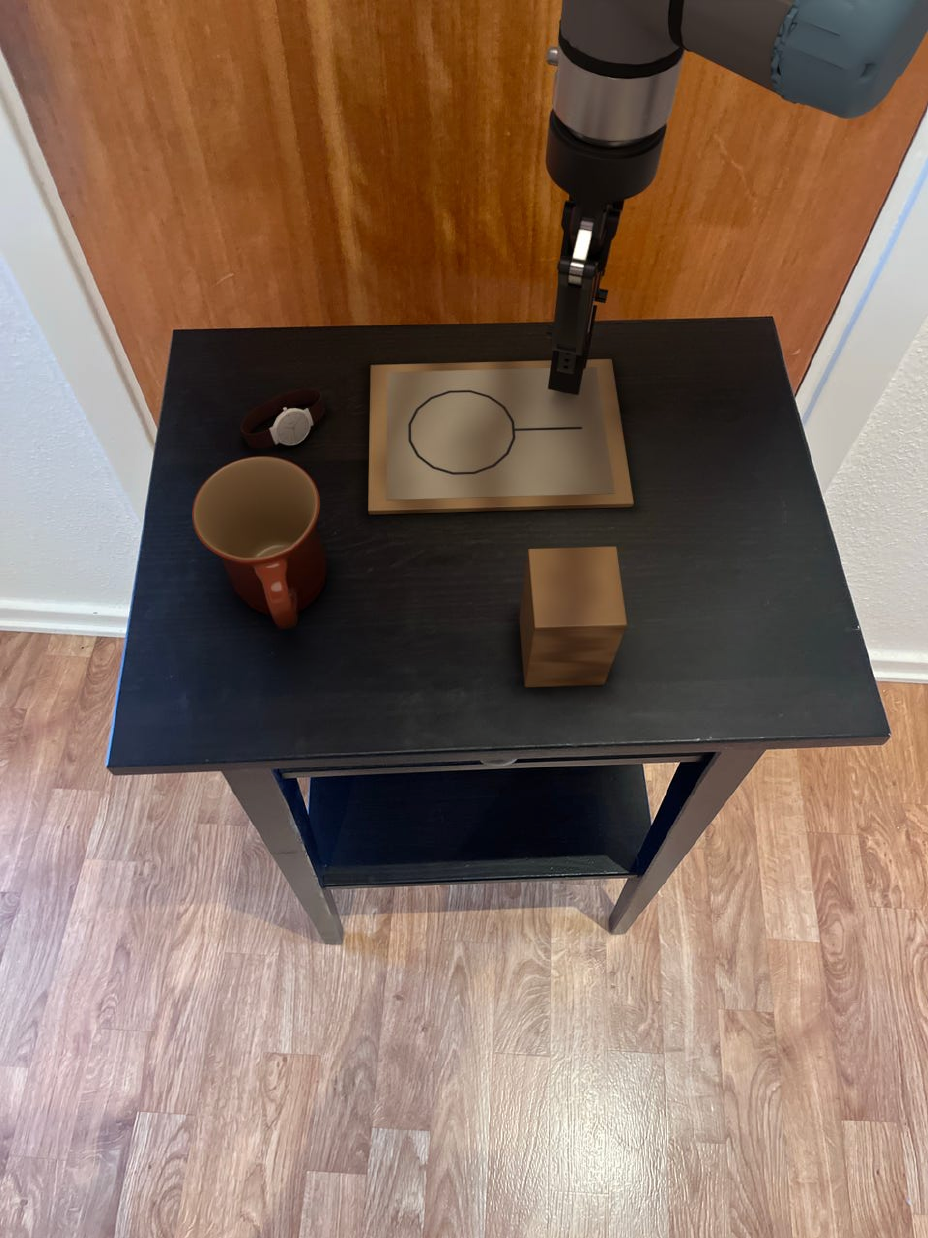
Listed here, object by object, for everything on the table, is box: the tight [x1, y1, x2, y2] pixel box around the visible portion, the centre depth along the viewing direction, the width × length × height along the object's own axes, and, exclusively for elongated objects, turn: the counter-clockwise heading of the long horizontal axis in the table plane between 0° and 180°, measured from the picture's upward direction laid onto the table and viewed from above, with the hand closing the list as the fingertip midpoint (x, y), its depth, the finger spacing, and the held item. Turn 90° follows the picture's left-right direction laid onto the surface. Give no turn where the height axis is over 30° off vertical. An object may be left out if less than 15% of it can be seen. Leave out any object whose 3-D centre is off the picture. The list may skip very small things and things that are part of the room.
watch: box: [239, 387, 326, 449], centre depth 74 cm, size 8×5×4 cm, turn 126°
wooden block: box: [518, 546, 628, 688], centre depth 61 cm, size 6×6×10 cm
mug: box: [191, 455, 327, 630], centre depth 63 cm, size 12×9×10 cm
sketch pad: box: [367, 358, 634, 516], centre depth 75 cm, size 22×16×1 cm
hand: (567, 375), depth 75 cm, fingers closed on marker, 2 cm apart
